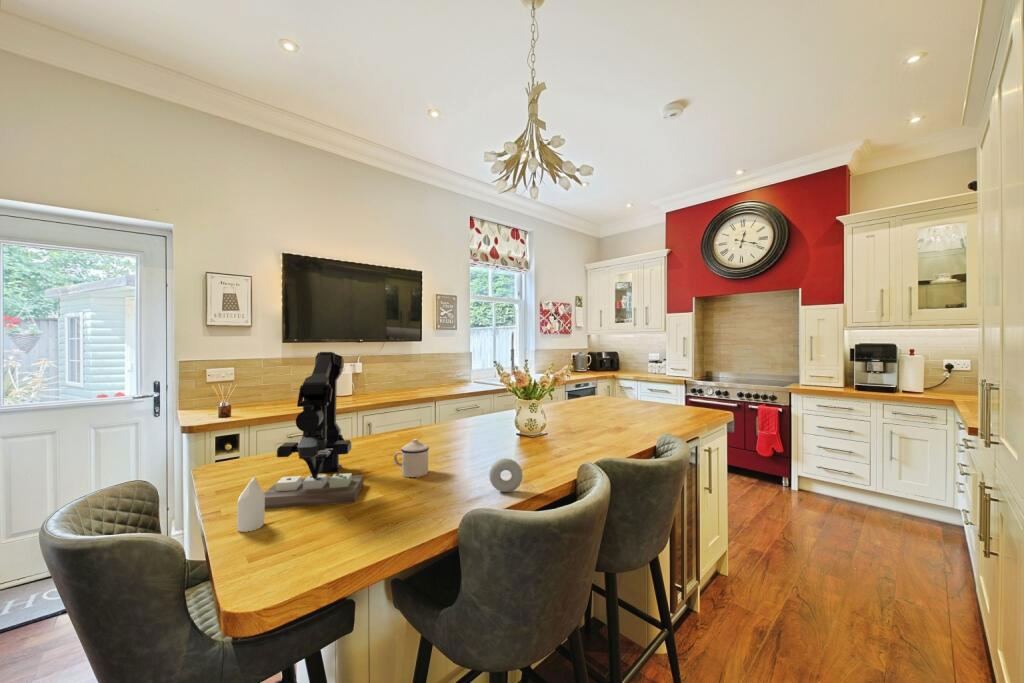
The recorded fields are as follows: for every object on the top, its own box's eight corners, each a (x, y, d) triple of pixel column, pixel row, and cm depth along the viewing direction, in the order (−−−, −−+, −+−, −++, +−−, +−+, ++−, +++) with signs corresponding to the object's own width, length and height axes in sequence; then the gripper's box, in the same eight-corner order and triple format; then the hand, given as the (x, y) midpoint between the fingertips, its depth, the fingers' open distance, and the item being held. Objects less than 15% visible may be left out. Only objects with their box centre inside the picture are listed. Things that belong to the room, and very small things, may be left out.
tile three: (334, 484, 118) (334, 473, 118) (351, 483, 119) (351, 472, 119) (329, 490, 113) (329, 479, 113) (348, 489, 114) (348, 478, 114)
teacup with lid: (432, 469, 138) (432, 436, 138) (423, 479, 129) (423, 443, 129) (399, 468, 139) (399, 435, 139) (388, 477, 130) (388, 442, 130)
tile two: (308, 485, 116) (308, 475, 116) (326, 484, 117) (326, 474, 117) (303, 492, 111) (303, 481, 111) (322, 491, 112) (322, 479, 112)
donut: (488, 494, 116) (488, 460, 116) (489, 489, 120) (489, 456, 120) (522, 494, 116) (522, 460, 116) (522, 490, 120) (522, 457, 120)
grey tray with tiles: (279, 489, 119) (279, 479, 119) (363, 484, 123) (363, 474, 123) (258, 509, 105) (258, 497, 105) (354, 502, 110) (354, 491, 110)
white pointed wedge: (234, 476, 96) (261, 471, 100) (234, 526, 96) (261, 519, 100) (240, 483, 91) (267, 477, 95) (239, 534, 91) (267, 527, 95)
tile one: (282, 487, 115) (282, 476, 115) (301, 486, 116) (301, 475, 116) (275, 493, 110) (275, 482, 110) (295, 492, 111) (295, 481, 111)
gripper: (268, 431, 105) (268, 490, 105) (343, 429, 108) (343, 486, 108) (284, 423, 116) (284, 476, 116) (351, 421, 119) (351, 472, 119)
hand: (315, 478), depth 114 cm, fingers closed, pressing on tile two
